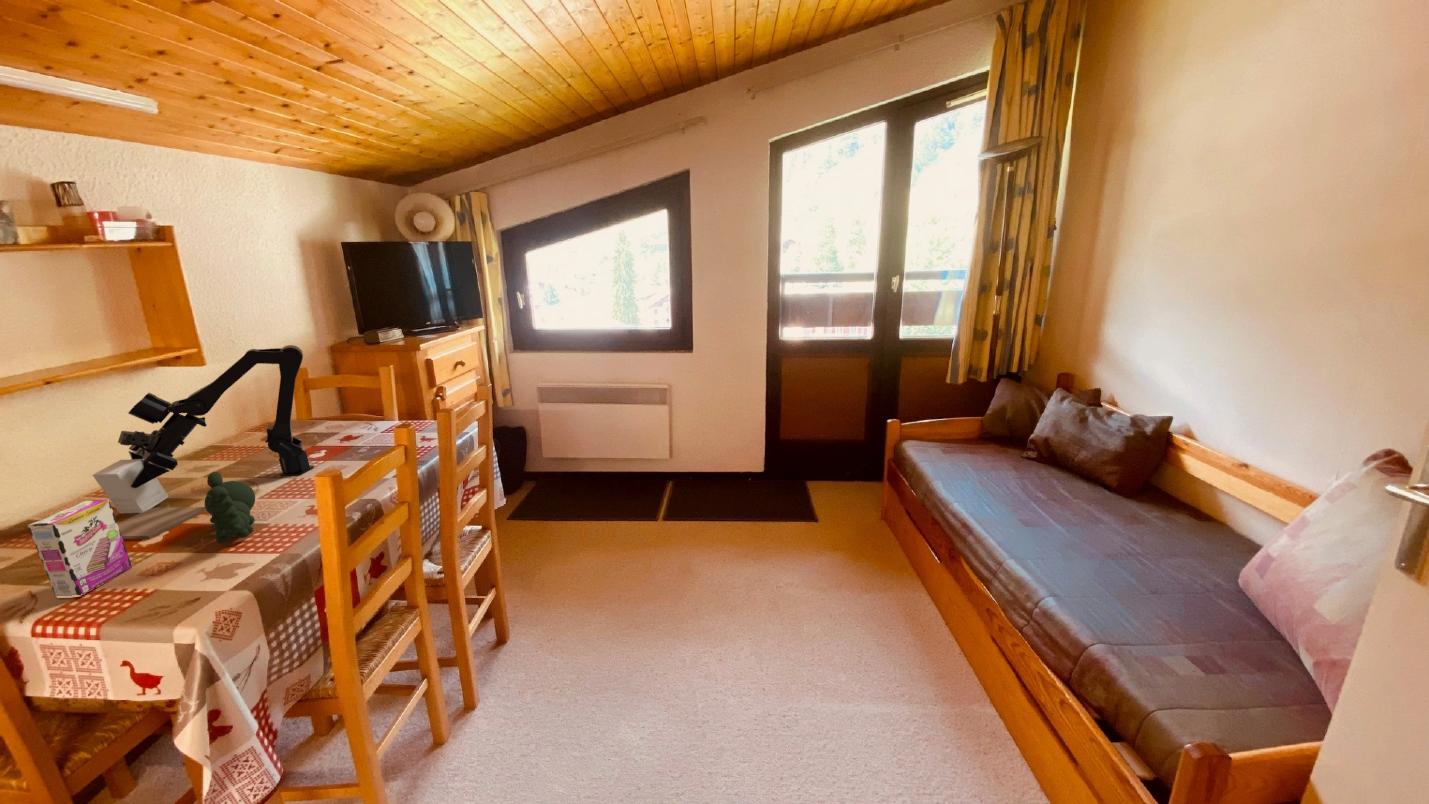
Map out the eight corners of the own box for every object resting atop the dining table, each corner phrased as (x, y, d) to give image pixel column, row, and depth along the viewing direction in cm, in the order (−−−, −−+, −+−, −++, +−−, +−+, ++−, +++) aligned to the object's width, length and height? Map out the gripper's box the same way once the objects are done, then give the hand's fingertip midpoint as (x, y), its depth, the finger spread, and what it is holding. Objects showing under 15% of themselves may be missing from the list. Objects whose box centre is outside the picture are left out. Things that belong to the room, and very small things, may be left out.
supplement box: (170, 496, 150) (145, 458, 145) (143, 513, 144) (115, 474, 138) (146, 497, 151) (121, 458, 146) (118, 514, 145) (90, 474, 139)
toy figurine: (262, 548, 128) (261, 504, 146) (240, 476, 121) (241, 439, 140) (209, 563, 122) (214, 515, 140) (182, 489, 116) (192, 448, 134)
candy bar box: (83, 598, 108) (52, 523, 104) (55, 600, 108) (23, 525, 103) (135, 566, 119) (110, 498, 114) (111, 568, 119) (84, 499, 114)
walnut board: (207, 510, 145) (206, 506, 145) (149, 539, 130) (148, 535, 130) (153, 511, 145) (152, 507, 145) (89, 540, 131) (88, 536, 131)
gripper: (129, 413, 149) (82, 464, 143) (147, 423, 139) (98, 478, 133) (176, 433, 158) (134, 481, 152) (196, 443, 148) (151, 495, 142)
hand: (128, 483), depth 144 cm, fingers closed on supplement box, 9 cm apart
